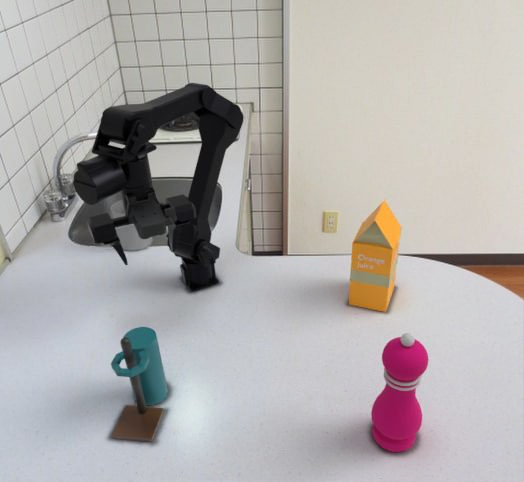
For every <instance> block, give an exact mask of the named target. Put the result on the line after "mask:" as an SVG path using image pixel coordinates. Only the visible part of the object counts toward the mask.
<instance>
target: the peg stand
mask: <svg viewBox="0 0 524 482" xmlns="http://www.w3.org/2000/svg"><path fill="white" fill-rule="evenodd" d="M123 337H124V336H123ZM123 337H122V338H121V339H120V346H121V347H120V348H121V352H122V351H123V355H124V359H123V360H124V362H125V366H126V369H131V368H133V367H135V366H136V362H135V358H134V354H133V350H132V346H131V342H130V339H129V338H127V337H124V338H123ZM128 378H129V383H130V385H131V389H132V393H133V397H134V401H135V404H136V405H132V404H131V405H130V404H126V405H125V406H124V408H123V410H122V412H121V415H120V417H119V419H118V421H117V423H116V425H115V427H114V430H113V432H112V434H111V437H112V438H113V439H119V440H127V441H128V440H129V441H139V442H149V443H153V442H154V439H155V437H156V434H157V431H158V428H159V426H160V424H161V422H162V418H163V416H164V414H165V408H164V407H153V406H147V405H146V403H145V399H144V395H143V391H142V387H141V383H140V378H139V374H138V375H136V376H134V377H128Z"/></svg>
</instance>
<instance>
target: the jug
mask: <svg viewBox="0 0 524 482" xmlns="http://www.w3.org/2000/svg"><path fill="white" fill-rule="evenodd" d="M124 337H127V338H129V339H130V342H131V346H132V350H133V354H134V358H135V362H136V366H135V367H133V368H131V369H127V367H126V368H124V367H121V363H122V362H123V361H124V360H125V359H124V355H123V351H122V350H121V351H120V352H118V353H115V355H114V357H113V359H112V360H111V363H110V367H111V369H112V370H113V372H114V373H115V376H117V377H122V378H129V377H134V376H136V375H138V374H139V378H140V383H141V387H142V391H143V395H144V399H145V403H146V406H156V405H158V404H160V403H162V402H163V401H164V400H165V399H166V398H167V397H168V394H169V388H168V384H167V379H166V375H165V370H164V364H163V360H162V355H161V349H160V346H159V345H160V344H159V340H158V335H157V332H156V330H155V329H154V328H151V327H149V326H137V327H134V328H131V329H130V330H128V331H127V332H126V333H125V334H124V335H123V336H122V338H124Z"/></svg>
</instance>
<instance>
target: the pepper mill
mask: <svg viewBox="0 0 524 482" xmlns="http://www.w3.org/2000/svg"><path fill="white" fill-rule="evenodd" d="M381 362H382V365H383V379H384V381H385V386H384V388H383V390H382V391H381V392H380V393H379V394H378V395H377V397H376V398H375V400H374V402H373V404H372V407H371V411H370V412H371V413H370V415H371V416H370V417H371V421H372V424H373V425H372V436H373V439H374V441H375V442H376V444H377V445H379V447H381V448H382V449H384V450H386V451H389V452H392V453H402V452H406V451H408V450H409V449H411V448H412V447H413V446H414V444H415V441H416V437H417V434H418V432H419V431H420V429H421V427H422V425H423V424H422V423H423V412H422V407H421V405H420V402H419V401H418V398H417V396H416V391H417V388H418V387H419V386H420V385H421V382H422V377H423V374H425V372H426V371H427V368H428V366H429V354H428V351H427V349H426V347H425V346H424V344H422V343H421V342H420V341H419V340H417V338H416V339H415V337H414V335H413V334H412V333H409V332H405V333H403V334H401V336H397V337H395V338H392V339H390V340H389V341H388V342H387V343H386V345H384V348H383V350H382V353H381Z"/></svg>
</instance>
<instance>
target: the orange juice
mask: <svg viewBox="0 0 524 482" xmlns="http://www.w3.org/2000/svg"><path fill="white" fill-rule="evenodd" d="M397 219H398V218H396V216H395V215H394V213H393V211H392V210H391V208H390V206H389V204H388V203H387V201H386V200H385V199H383V201H382V202H381V203H380V204H379V205H378V206H377V207H376V208H375V209H374V210H373V211H372V212H371V213H370V215H368V217H367V218H365V220H364V221H362V223H361V224H360V227H359V228H358V231H357V232H356V235H355V237H354V239H353V241H352V245H351V263H350V274H349V293H348V294H349V295H348V305H349V306H354V307H360V308H364V309H369V310H374V311H379V312H384V313H386V312H387V310H388V307H389V305H390V301H391V298H392V295H393V292H394V289H395V283H396V277H397V275H396V274H397V265H398V260H399V250H400V241H401V233H402V230H403V227H402V226H401V224H400V223H399V221H398V220H397Z"/></svg>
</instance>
